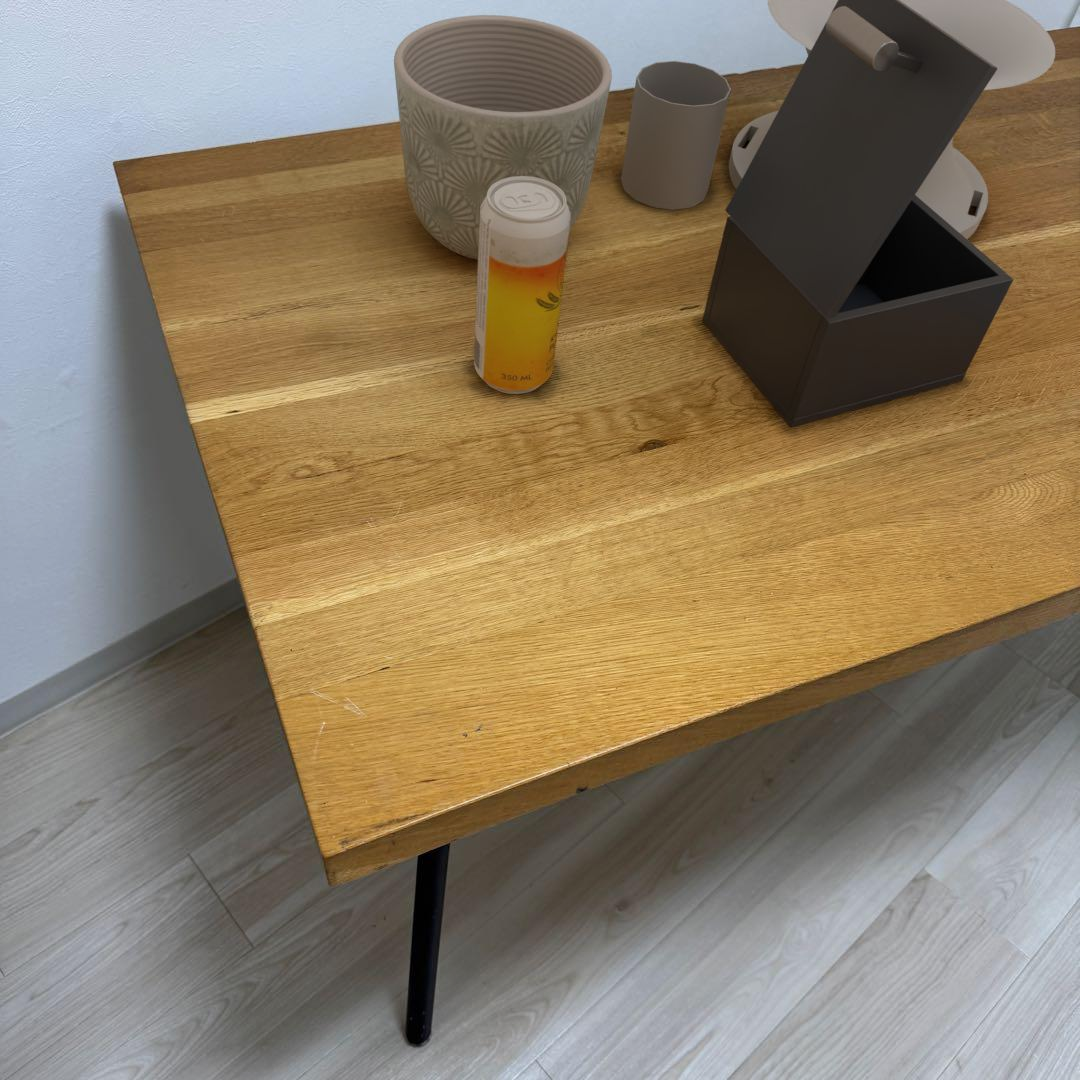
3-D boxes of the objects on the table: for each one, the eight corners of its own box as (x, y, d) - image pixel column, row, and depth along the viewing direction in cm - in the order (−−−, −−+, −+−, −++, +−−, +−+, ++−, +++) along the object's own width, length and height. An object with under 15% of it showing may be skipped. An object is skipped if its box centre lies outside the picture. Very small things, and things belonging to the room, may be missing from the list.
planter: (437, 166, 98) (437, -2, 86) (609, 205, 96) (633, 39, 84) (368, 262, 87) (359, 85, 75) (561, 309, 85) (581, 134, 73)
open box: (863, 284, 91) (902, 183, 83) (962, 381, 83) (1014, 279, 75) (701, 320, 85) (727, 216, 78) (790, 427, 78) (828, 323, 70)
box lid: (861, -27, 67) (808, -48, 64) (998, 68, 59) (945, 49, 57) (732, 211, 78) (682, 202, 75) (834, 318, 70) (782, 312, 67)
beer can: (564, 390, 78) (586, 215, 67) (489, 405, 77) (499, 229, 65) (535, 341, 82) (552, 167, 70) (463, 355, 80) (468, 179, 69)
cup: (722, 182, 100) (745, 81, 92) (684, 219, 95) (706, 116, 87) (646, 153, 102) (663, 52, 95) (605, 188, 98) (620, 84, 90)
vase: (947, 131, 110) (1009, -24, 99) (1012, 268, 94) (1095, 102, 82) (717, 111, 109) (752, -48, 97) (743, 246, 93) (788, 75, 81)
